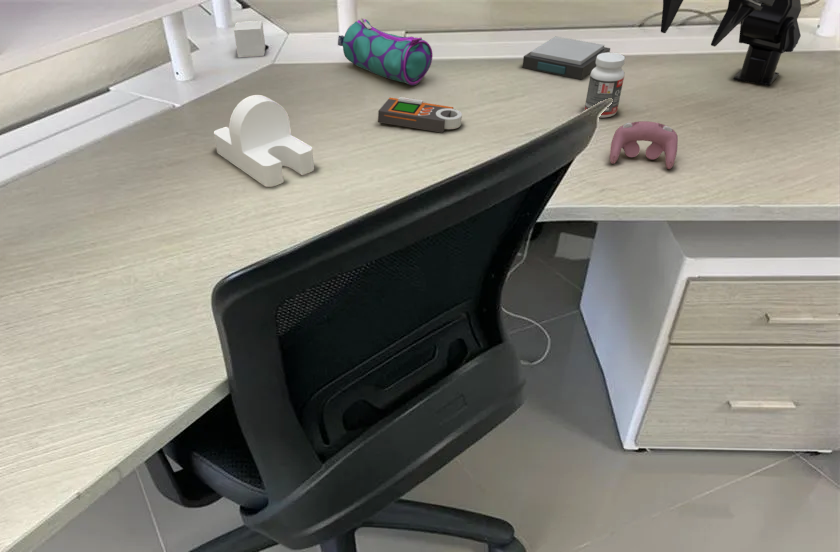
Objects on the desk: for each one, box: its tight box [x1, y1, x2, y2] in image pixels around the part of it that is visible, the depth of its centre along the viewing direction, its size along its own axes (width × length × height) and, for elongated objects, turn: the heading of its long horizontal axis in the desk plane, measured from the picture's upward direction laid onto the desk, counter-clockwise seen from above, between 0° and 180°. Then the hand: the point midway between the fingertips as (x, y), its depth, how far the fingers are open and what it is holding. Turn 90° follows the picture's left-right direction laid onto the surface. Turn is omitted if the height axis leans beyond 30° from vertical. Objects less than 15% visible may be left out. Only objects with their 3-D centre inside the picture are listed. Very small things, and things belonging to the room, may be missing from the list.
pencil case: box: [337, 17, 433, 86], centre depth 145 cm, size 21×9×10 cm, turn 39°
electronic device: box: [377, 96, 463, 133], centre depth 128 cm, size 7×3×15 cm
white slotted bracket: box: [213, 94, 315, 188], centre depth 117 cm, size 10×18×11 cm, turn 36°
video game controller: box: [609, 120, 679, 170], centre depth 112 cm, size 10×5×7 cm, turn 71°
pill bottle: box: [584, 51, 626, 119], centre depth 125 cm, size 6×6×10 cm
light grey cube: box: [233, 20, 266, 58], centre depth 161 cm, size 6×6×6 cm
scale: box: [521, 35, 611, 81], centre depth 146 cm, size 13×13×3 cm
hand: (687, 39), depth 115 cm, fingers open, 9 cm apart
